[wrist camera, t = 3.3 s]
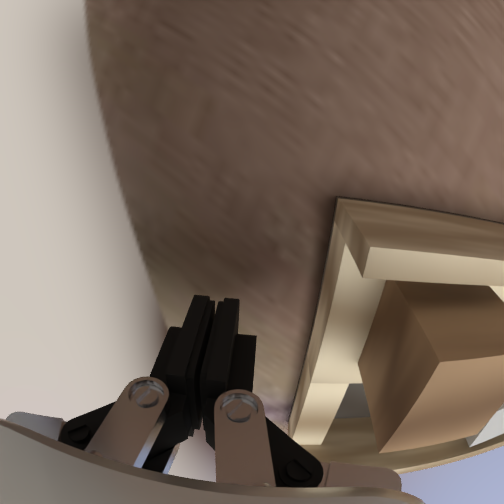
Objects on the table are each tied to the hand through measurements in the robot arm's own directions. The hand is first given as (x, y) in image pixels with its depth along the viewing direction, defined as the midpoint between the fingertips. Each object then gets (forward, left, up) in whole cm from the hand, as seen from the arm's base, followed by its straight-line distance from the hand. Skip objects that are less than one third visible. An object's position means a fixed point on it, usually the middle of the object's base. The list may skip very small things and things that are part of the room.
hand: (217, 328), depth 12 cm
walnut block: (0, +9, -1) cm, 9 cm away
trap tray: (+3, +14, -4) cm, 15 cm away
